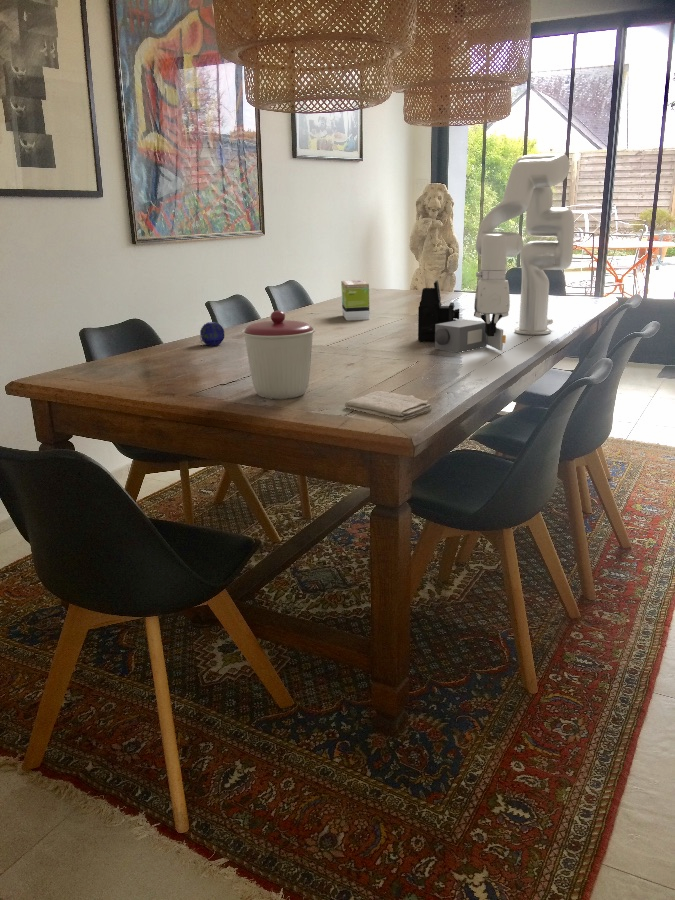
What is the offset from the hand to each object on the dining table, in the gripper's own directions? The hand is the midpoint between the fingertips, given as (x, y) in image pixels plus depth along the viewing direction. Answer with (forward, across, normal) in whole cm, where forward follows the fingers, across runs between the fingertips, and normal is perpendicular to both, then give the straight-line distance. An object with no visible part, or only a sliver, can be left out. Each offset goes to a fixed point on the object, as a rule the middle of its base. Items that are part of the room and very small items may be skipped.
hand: (490, 335), depth 234 cm
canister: (+6, -66, -43) cm, 80 cm away
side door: (+4, +3, +2) cm, 6 cm away
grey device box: (+5, -7, +9) cm, 12 cm away
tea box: (+5, -32, +84) cm, 91 cm away
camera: (+5, -11, +23) cm, 26 cm away
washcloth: (+6, -42, -62) cm, 75 cm away
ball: (+6, -88, +32) cm, 94 cm away
